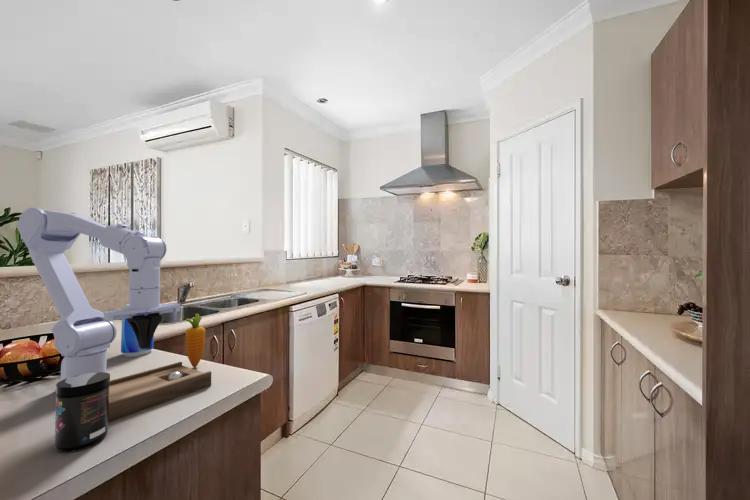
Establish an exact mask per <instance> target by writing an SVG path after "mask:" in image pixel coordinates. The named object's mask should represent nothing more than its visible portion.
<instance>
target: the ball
mask: <svg viewBox="0 0 750 500" xmlns="http://www.w3.org/2000/svg"><path fill="white" fill-rule="evenodd" d="M182 377H183V375H182V373H180V372H177V371H176V372H173V373H171V374H170V375H169V376H168V379H167V381H168V382H169V381H172V380H175V379H178V378H182Z"/></svg>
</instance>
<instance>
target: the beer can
mask: <svg viewBox="0 0 750 500" xmlns="http://www.w3.org/2000/svg"><path fill="white" fill-rule="evenodd" d="M127 308H129V303H128V304H127V303H126V305H125V308H124V309H127ZM146 313H152V312H146ZM137 314H144V313H137ZM137 314H136V315H137ZM120 336H121V339H120V353H122V355H123V356H124V357H132V358H133V357H139V356H144V355H148V354H150V353H151V352H152V350H153V349H154V343H155V341H154V338H155V337H154V336H155V334H154V335H153V338H152V341H151V345H150V348H146V349H141V348H139V344H138V340H137V337H136V335H135V333H134V331H133V329H132V327H131V326H130V324H129V323H128V321H127V319H121V335H120Z"/></svg>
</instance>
